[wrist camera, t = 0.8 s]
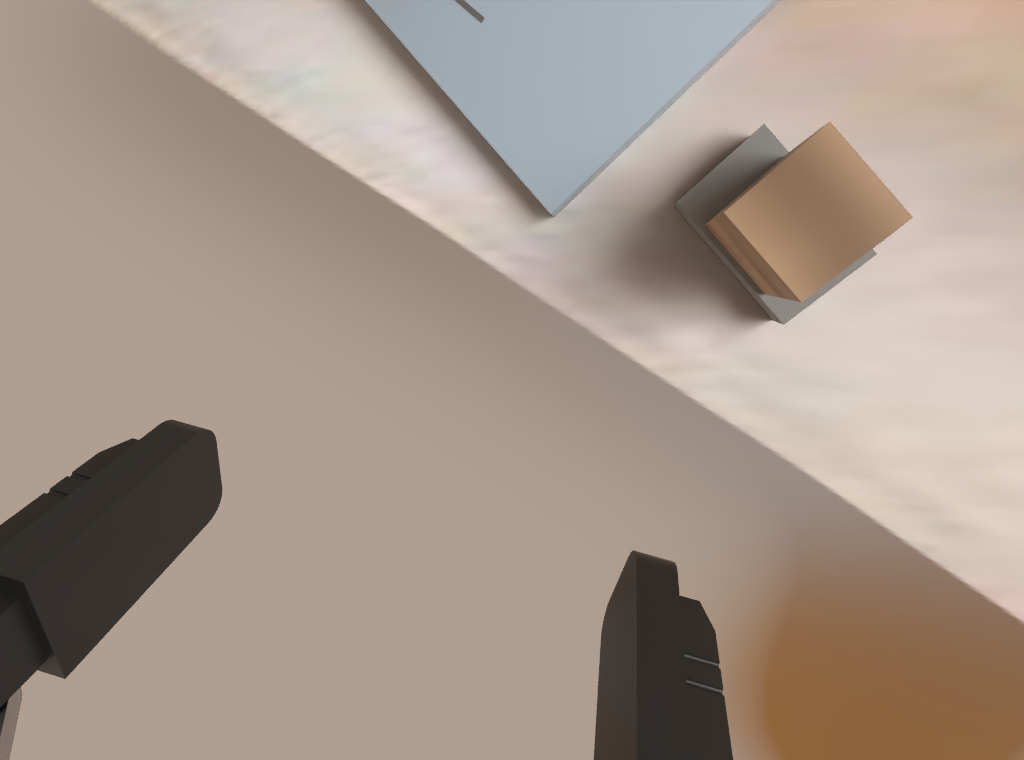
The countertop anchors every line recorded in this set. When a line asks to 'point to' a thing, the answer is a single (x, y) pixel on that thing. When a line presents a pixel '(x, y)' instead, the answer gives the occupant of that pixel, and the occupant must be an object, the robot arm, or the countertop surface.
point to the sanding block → (792, 217)
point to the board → (566, 72)
